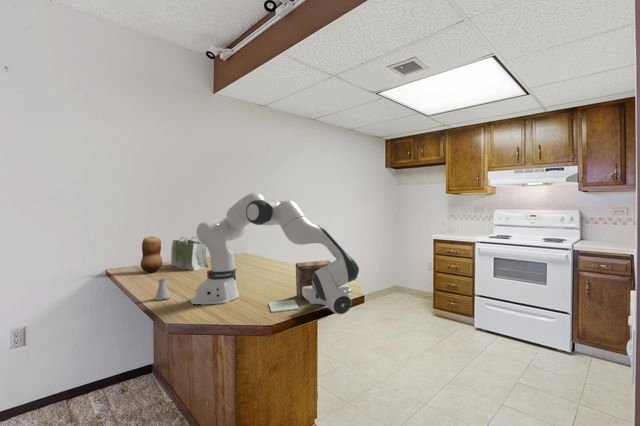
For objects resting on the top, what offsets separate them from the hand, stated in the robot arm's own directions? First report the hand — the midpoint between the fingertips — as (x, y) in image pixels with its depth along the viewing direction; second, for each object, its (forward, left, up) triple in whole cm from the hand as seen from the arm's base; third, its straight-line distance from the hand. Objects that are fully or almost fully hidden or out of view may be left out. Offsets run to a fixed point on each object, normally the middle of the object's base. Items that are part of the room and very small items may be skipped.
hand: (321, 285), depth 142 cm
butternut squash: (-95, +108, -8) cm, 144 cm away
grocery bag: (-71, +116, -8) cm, 137 cm away
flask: (-73, +35, -8) cm, 82 cm away
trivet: (-17, +2, -8) cm, 19 cm away
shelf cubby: (0, +12, -8) cm, 14 cm away
